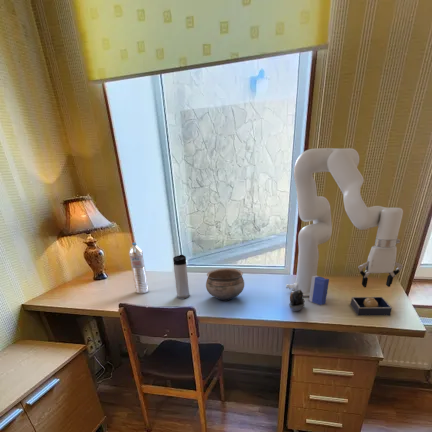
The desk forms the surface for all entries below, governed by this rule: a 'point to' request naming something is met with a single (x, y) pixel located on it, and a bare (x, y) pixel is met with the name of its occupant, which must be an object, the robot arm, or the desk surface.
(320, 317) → the desk surface
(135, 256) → the water bottle
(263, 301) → the desk surface
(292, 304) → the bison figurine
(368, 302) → the potato
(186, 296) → the travel mug
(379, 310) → the square open-top storage box
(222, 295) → the cooking pot
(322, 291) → the walkman
